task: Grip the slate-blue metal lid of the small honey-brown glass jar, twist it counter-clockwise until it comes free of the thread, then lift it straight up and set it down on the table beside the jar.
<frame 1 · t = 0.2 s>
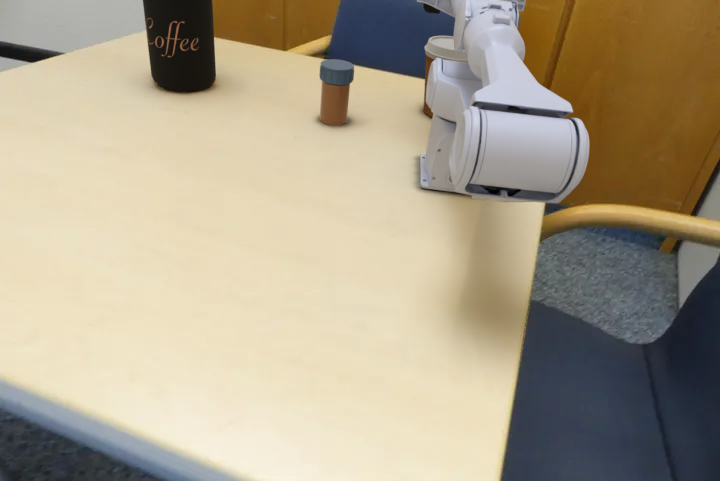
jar: (333, 119, 90), on the table
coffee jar: (184, 84, 97), on the table
disposable coffee cup: (441, 114, 97), on the table
lid: (337, 67, 85), point 9 cm above the table, screwed on, not yet turned
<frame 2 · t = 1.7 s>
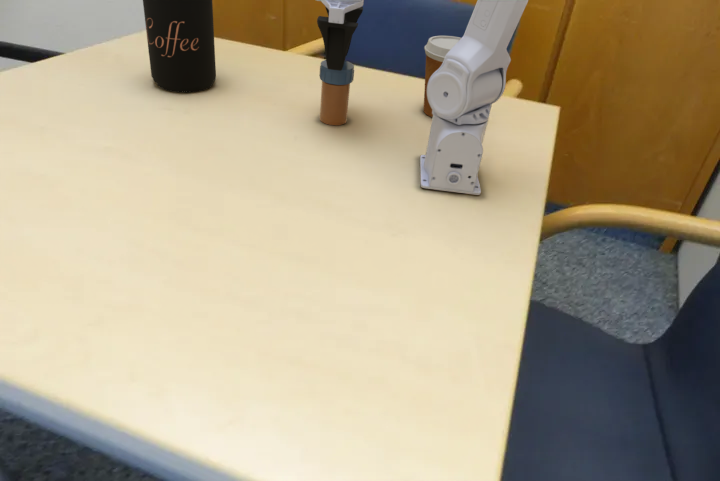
hand: (337, 61, 84), 9 cm above the table, tool pointing down, fingers open, 7 cm apart
nothing on the table moved.
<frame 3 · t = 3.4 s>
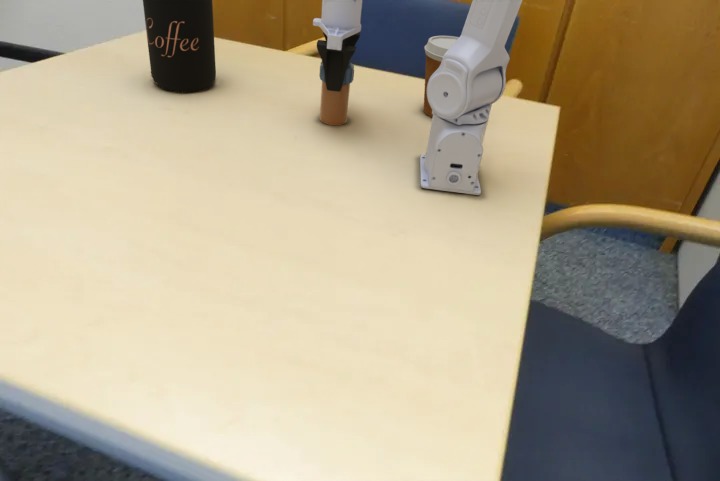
hand: (335, 84, 86), 6 cm above the table, tool pointing down, fingers closed on lid, 5 cm apart
lid: (337, 67, 85), point 9 cm above the table, screwed on, not yet turned, touching gripper
everything else where it was.
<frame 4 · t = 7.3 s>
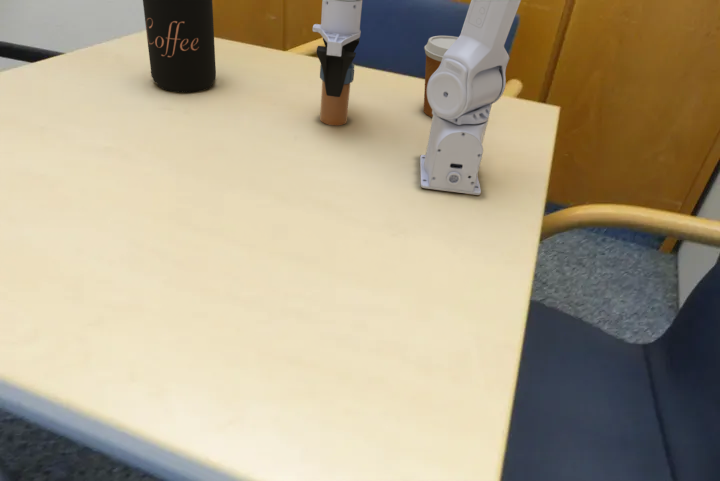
hand: (335, 89, 87), 5 cm above the table, tool pointing down, fingers closed on lid, 5 cm apart
lid: (337, 66, 85), point 9 cm above the table, turned 38° so far, risen 0.1 cm, still on its thread, touching gripper
everything else where it was.
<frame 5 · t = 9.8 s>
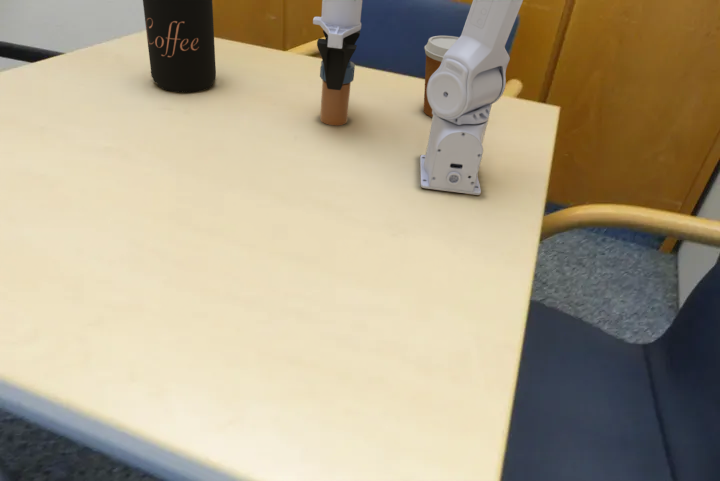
hand: (336, 82, 86), 6 cm above the table, tool pointing down, fingers closed on lid, 5 cm apart
lid: (337, 65, 85), point 9 cm above the table, turned 77° so far, risen 0.2 cm, still on its thread, touching gripper
everything else where it was.
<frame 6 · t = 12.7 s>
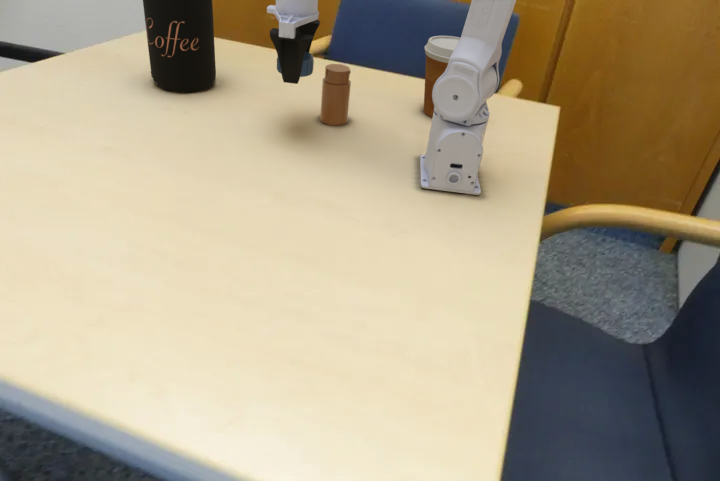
hand: (294, 76, 81), 8 cm above the table, tool pointing down, fingers closed on lid, 5 cm apart
lid: (295, 57, 80), point 11 cm above the table, off its thread, touching gripper
everything else where it was.
when the fingers open (0 cm above the table, at t = 15.8 s): lid stays where it is, point 2 cm above the table.
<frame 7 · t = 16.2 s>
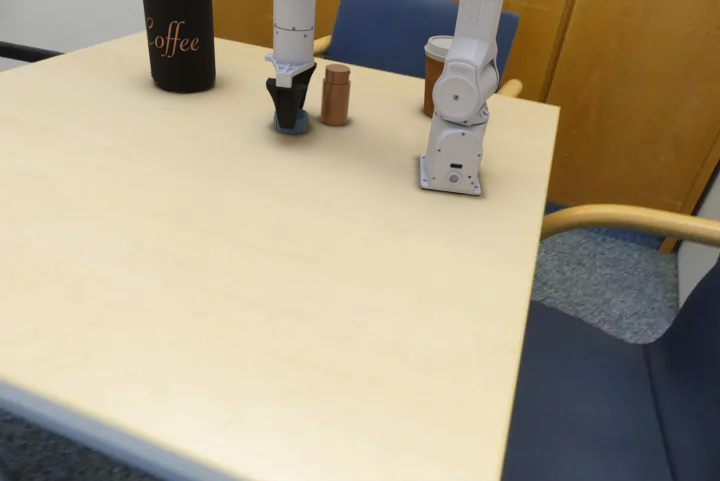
hand: (291, 118, 85), 2 cm above the table, tool pointing down, fingers open, 7 cm apart
lid: (291, 115, 85), point 2 cm above the table, off its thread
everything else where it was.
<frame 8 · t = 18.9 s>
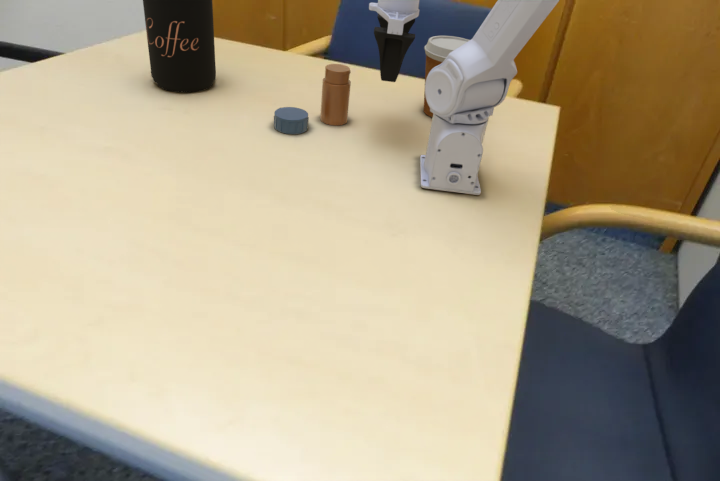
hand: (389, 72, 83), 9 cm above the table, tool pointing down, fingers open, 7 cm apart
nothing on the table moved.
at the end: lid came off its thread; lid point 1.9 cm above the table; the gripper is holding nothing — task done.
